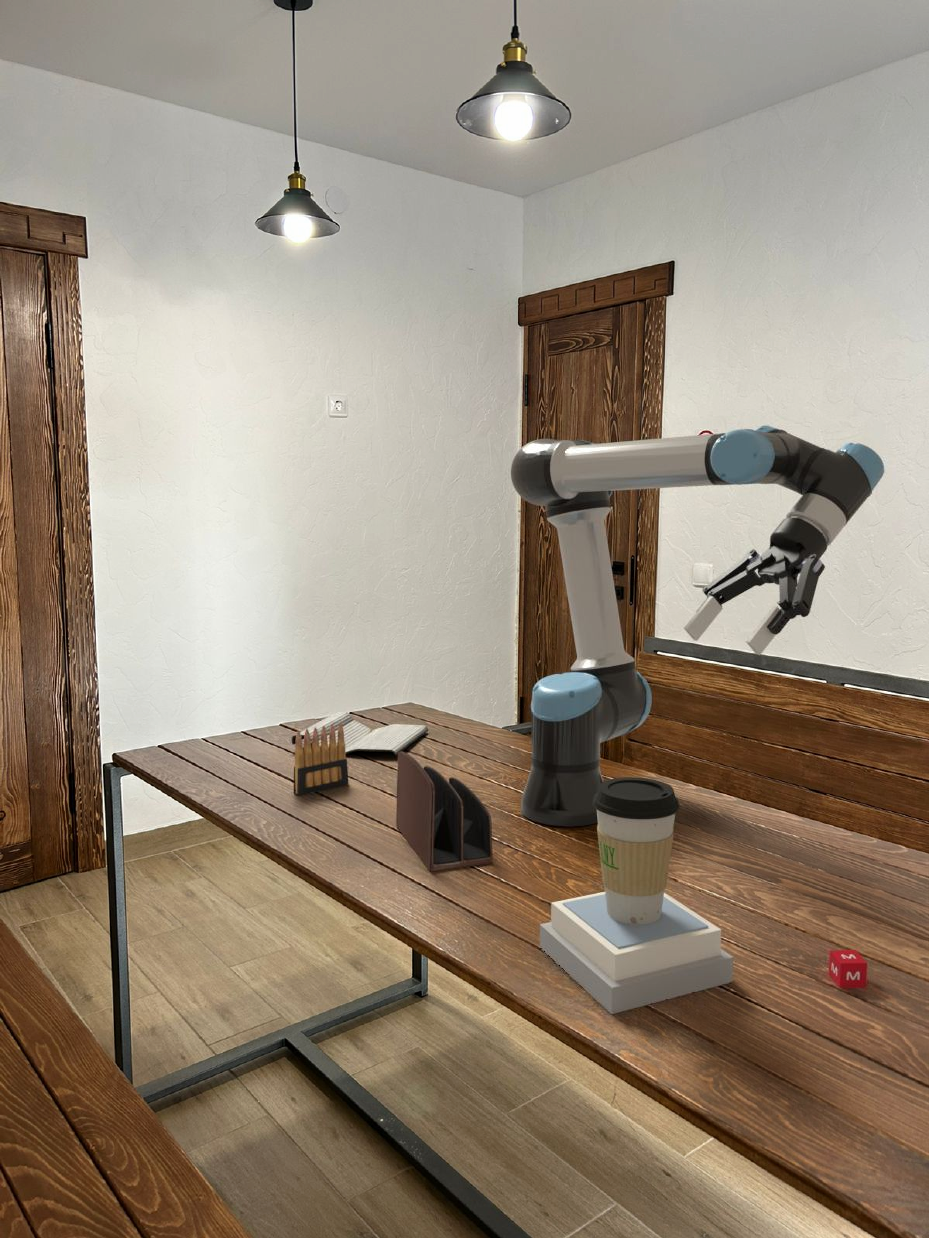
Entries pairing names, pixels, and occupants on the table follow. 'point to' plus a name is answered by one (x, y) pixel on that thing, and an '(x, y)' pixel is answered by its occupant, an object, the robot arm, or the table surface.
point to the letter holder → (441, 818)
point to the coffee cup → (635, 845)
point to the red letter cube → (847, 969)
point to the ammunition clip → (320, 762)
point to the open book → (375, 741)
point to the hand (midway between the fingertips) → (719, 641)
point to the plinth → (637, 984)
